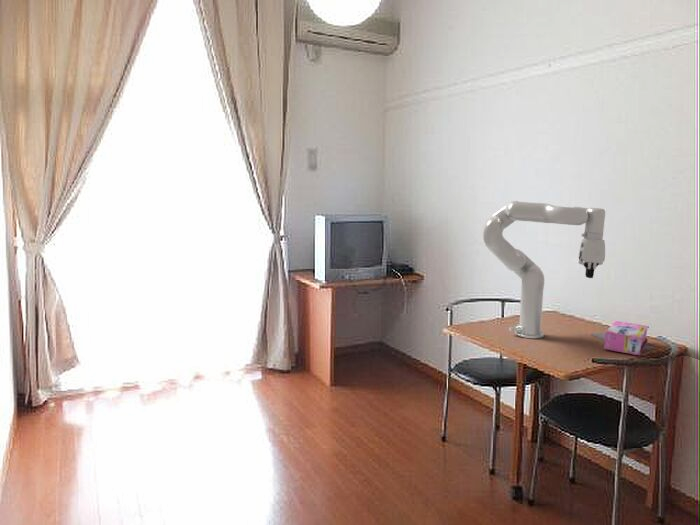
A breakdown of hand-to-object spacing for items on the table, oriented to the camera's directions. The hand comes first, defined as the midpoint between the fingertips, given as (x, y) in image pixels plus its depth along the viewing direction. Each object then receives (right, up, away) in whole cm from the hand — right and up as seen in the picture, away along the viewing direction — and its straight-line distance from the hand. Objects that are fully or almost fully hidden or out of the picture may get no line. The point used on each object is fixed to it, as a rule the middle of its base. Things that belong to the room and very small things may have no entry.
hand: (589, 277), depth 243 cm
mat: (+15, -28, +1) cm, 32 cm away
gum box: (+7, -25, -4) cm, 26 cm away
